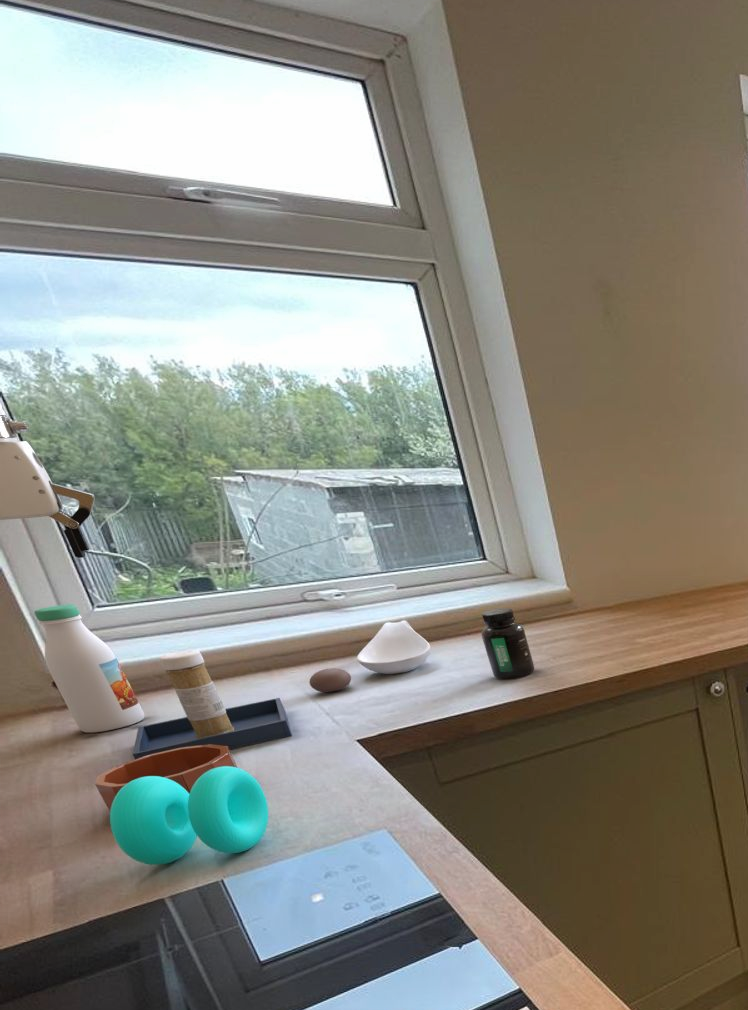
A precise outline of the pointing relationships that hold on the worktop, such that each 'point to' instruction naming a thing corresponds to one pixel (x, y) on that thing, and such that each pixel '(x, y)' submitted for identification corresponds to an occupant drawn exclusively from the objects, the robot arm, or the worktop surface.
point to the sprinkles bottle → (196, 692)
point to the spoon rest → (394, 649)
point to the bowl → (165, 768)
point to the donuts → (188, 815)
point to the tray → (249, 729)
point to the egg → (330, 680)
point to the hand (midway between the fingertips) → (31, 561)
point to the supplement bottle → (506, 645)
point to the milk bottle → (87, 672)
